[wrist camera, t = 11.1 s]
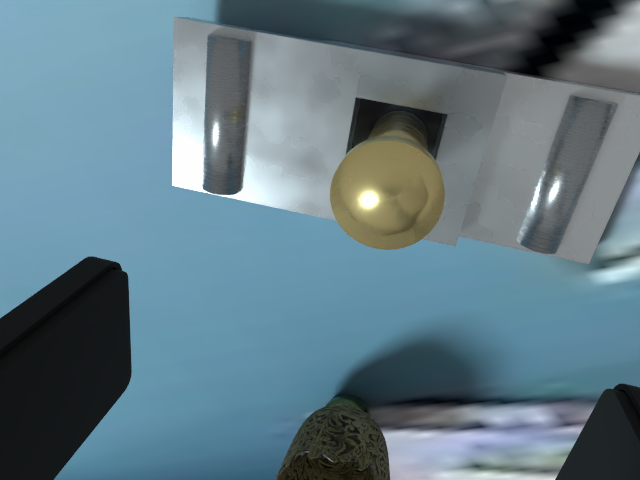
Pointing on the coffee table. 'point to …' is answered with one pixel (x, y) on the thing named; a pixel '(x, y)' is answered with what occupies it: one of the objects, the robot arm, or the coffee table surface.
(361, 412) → the cup
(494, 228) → the plate with square hole
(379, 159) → the brass pin
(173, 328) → the coffee table surface
